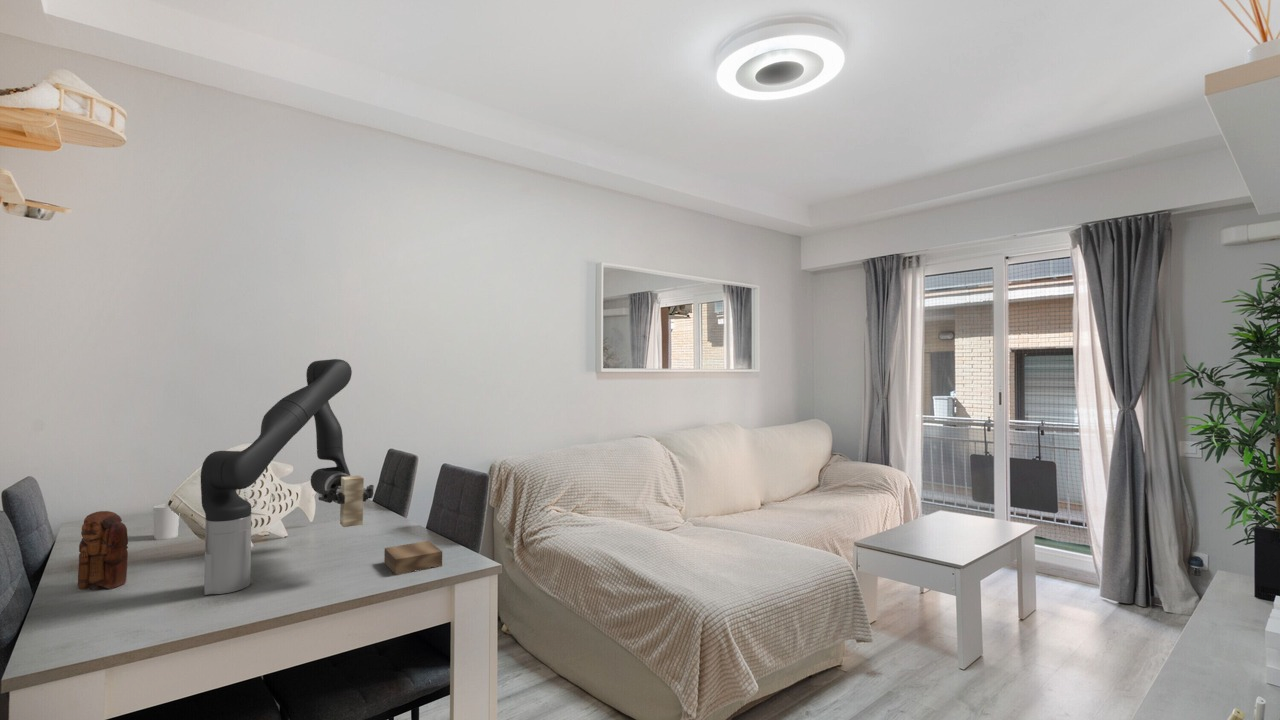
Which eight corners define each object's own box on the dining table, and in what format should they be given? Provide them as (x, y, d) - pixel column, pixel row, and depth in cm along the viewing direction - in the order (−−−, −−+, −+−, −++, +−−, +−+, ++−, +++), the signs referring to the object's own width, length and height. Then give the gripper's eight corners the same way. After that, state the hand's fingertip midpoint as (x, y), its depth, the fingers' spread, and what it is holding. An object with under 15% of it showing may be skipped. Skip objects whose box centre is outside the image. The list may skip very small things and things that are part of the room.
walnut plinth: (395, 574, 154) (396, 559, 154) (384, 562, 164) (384, 548, 164) (442, 566, 161) (442, 551, 161) (428, 554, 171) (428, 540, 171)
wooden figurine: (65, 589, 143) (66, 514, 143) (91, 579, 149) (92, 508, 149) (111, 590, 142) (112, 515, 142) (135, 581, 148) (136, 509, 149)
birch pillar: (343, 527, 150) (344, 479, 150) (340, 523, 154) (341, 477, 154) (362, 524, 153) (363, 478, 153) (358, 521, 156) (359, 475, 157)
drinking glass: (179, 533, 191) (179, 501, 192) (180, 537, 186) (180, 505, 186) (152, 536, 187) (153, 504, 187) (152, 541, 182) (153, 508, 182)
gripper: (312, 476, 161) (323, 486, 147) (369, 472, 169) (384, 481, 155) (312, 504, 160) (322, 517, 147) (368, 498, 169) (383, 509, 155)
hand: (354, 498), depth 151 cm, fingers closed on birch pillar, 4 cm apart
